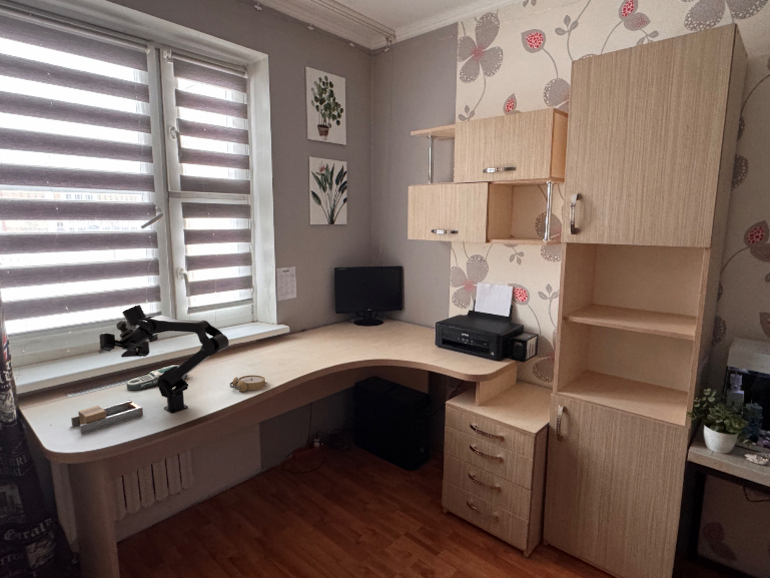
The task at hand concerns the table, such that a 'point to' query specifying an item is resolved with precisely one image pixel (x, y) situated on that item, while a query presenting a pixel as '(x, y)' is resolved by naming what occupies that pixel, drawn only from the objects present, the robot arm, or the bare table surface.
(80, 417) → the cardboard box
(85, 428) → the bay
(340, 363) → the table surface
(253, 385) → the alarm clock
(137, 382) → the communication device
